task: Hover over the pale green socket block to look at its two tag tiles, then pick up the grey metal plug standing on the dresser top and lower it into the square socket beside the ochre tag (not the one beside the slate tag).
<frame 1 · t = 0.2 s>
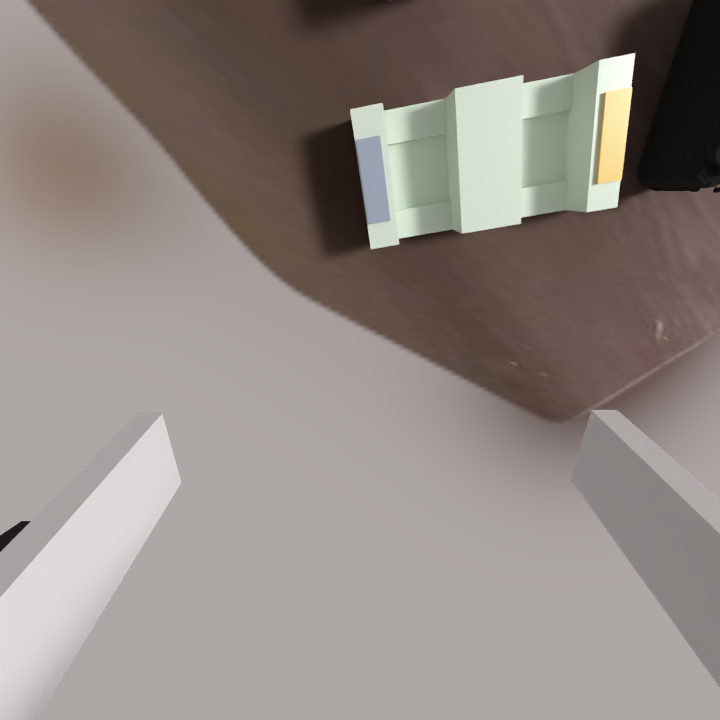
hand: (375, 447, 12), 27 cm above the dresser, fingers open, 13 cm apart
socket block: (473, 163, 33), on the dresser
film camera: (712, 92, 31), on the dresser
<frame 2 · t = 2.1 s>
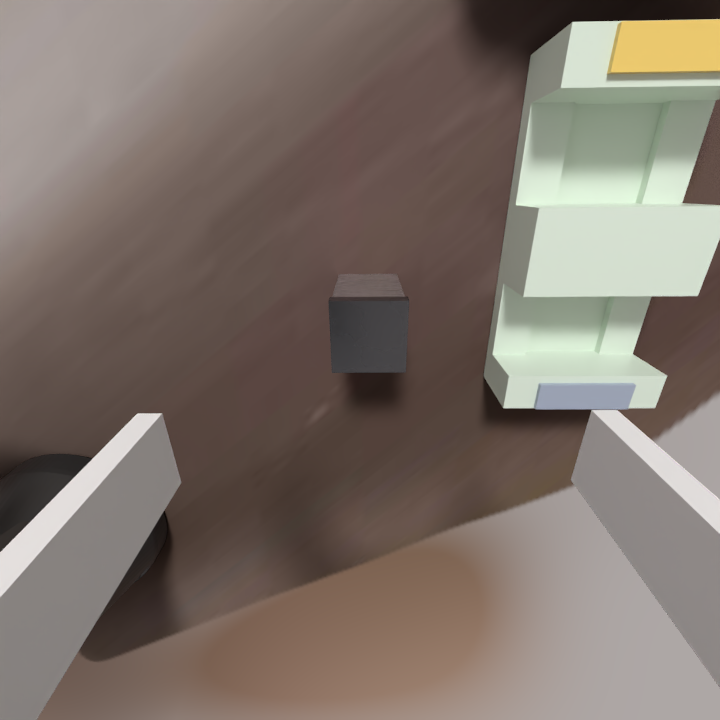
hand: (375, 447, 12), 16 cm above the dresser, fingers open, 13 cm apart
socket block: (578, 242, 25), on the dresser
plug: (367, 302, 27), on the dresser
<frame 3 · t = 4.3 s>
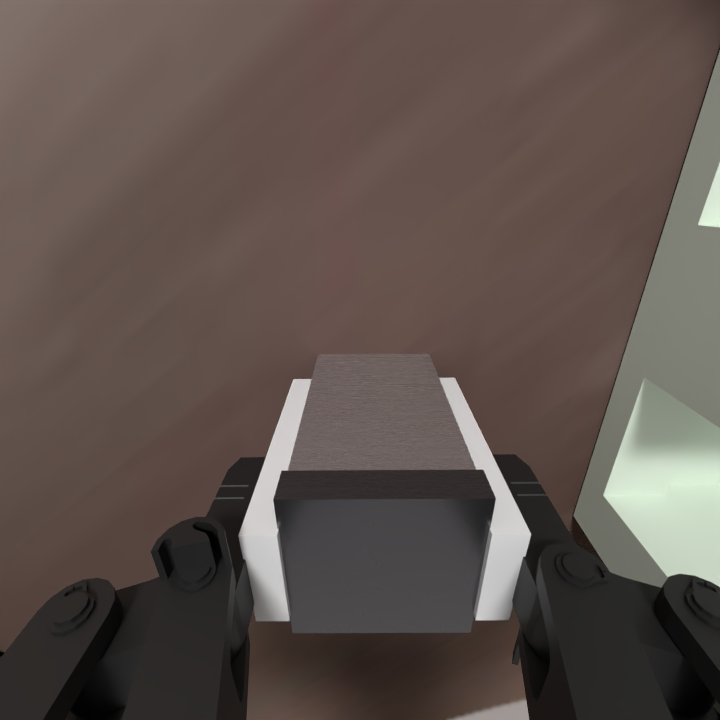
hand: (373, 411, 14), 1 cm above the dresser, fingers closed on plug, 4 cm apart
plug: (373, 401, 14), on the dresser, touching gripper
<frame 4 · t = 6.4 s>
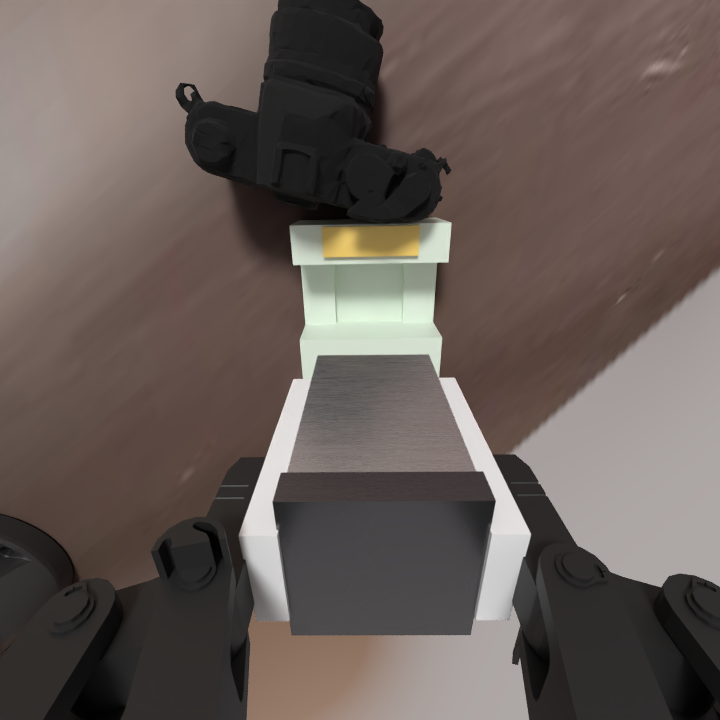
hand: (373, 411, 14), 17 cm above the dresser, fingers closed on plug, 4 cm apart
socket block: (368, 345, 31), on the dresser
plug: (373, 402, 14), point 17 cm above the dresser, touching gripper
film camera: (330, 128, 25), on the dresser
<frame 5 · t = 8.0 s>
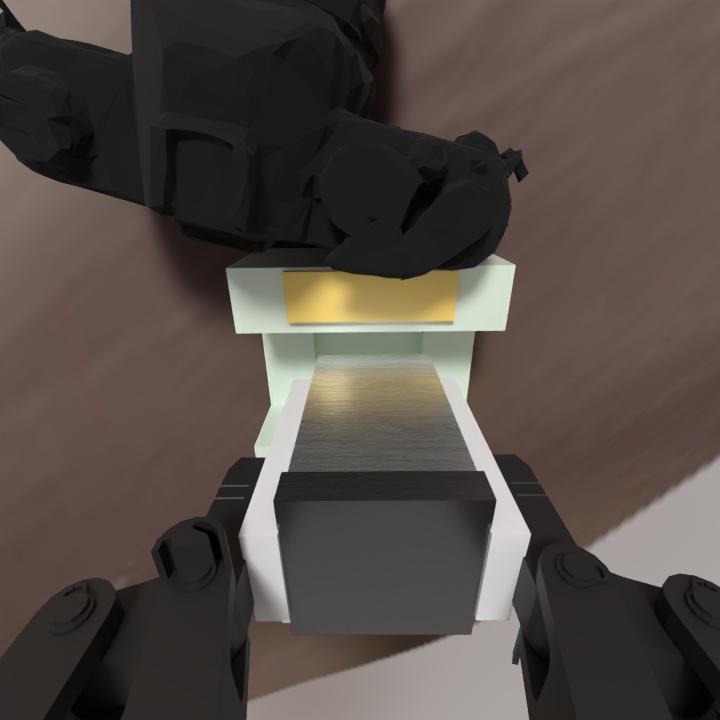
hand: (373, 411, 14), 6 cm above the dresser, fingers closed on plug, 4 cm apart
socket block: (368, 429, 21), on the dresser
plug: (373, 402, 14), point 5 cm above the dresser, touching gripper
film camera: (305, 102, 15), on the dresser
when the fingers open (2 cm above the dresser, at t = 8.9 s): plug stays where it is, resting on socket block.
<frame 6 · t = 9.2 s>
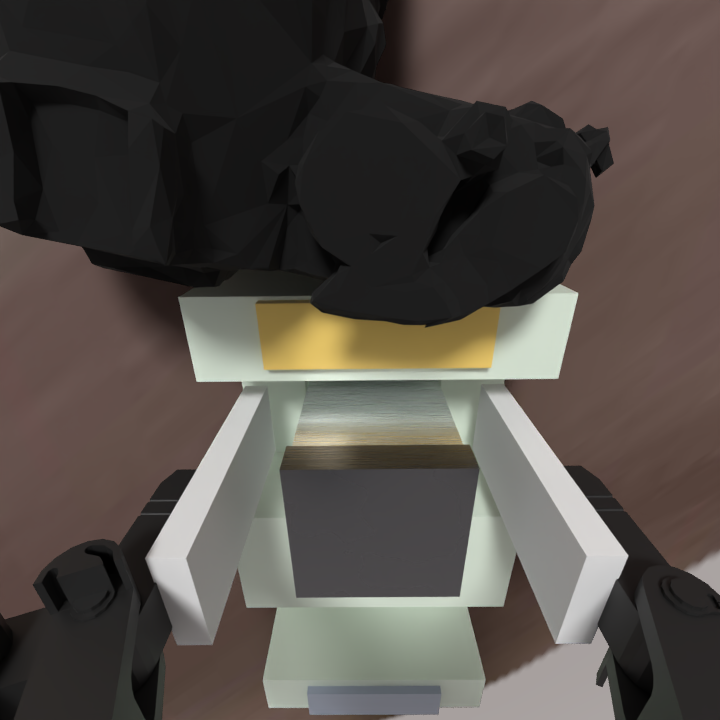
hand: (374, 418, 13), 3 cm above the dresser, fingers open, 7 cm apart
socket block: (371, 476, 18), on the dresser
plug: (371, 391, 15), point 1 cm above the dresser, touching socket block
film camera: (290, 76, 11), on the dresser
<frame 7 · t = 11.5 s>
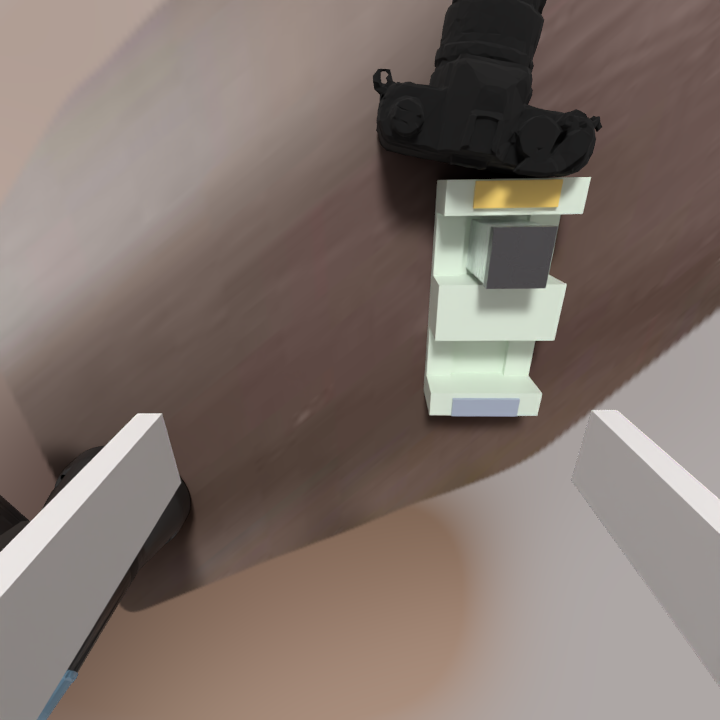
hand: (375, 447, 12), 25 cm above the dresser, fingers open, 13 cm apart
socket block: (483, 297, 35), on the dresser
plug: (492, 243, 32), point 1 cm above the dresser, touching socket block
film camera: (472, 101, 29), on the dresser
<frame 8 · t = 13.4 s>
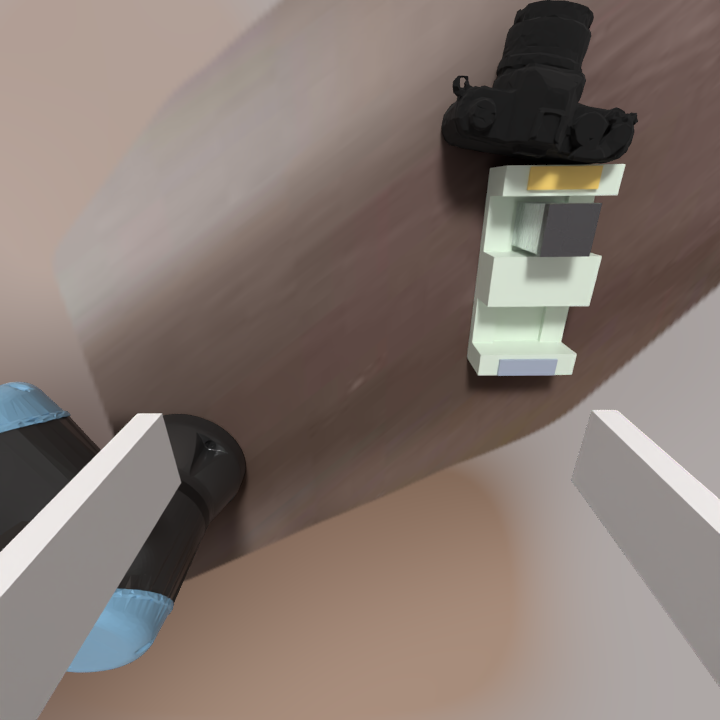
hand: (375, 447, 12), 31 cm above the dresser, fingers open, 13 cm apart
socket block: (523, 272, 40), on the dresser
plug: (534, 223, 37), point 1 cm above the dresser, touching socket block
film camera: (522, 102, 34), on the dresser
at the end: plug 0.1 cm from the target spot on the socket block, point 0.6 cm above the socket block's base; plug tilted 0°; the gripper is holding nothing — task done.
